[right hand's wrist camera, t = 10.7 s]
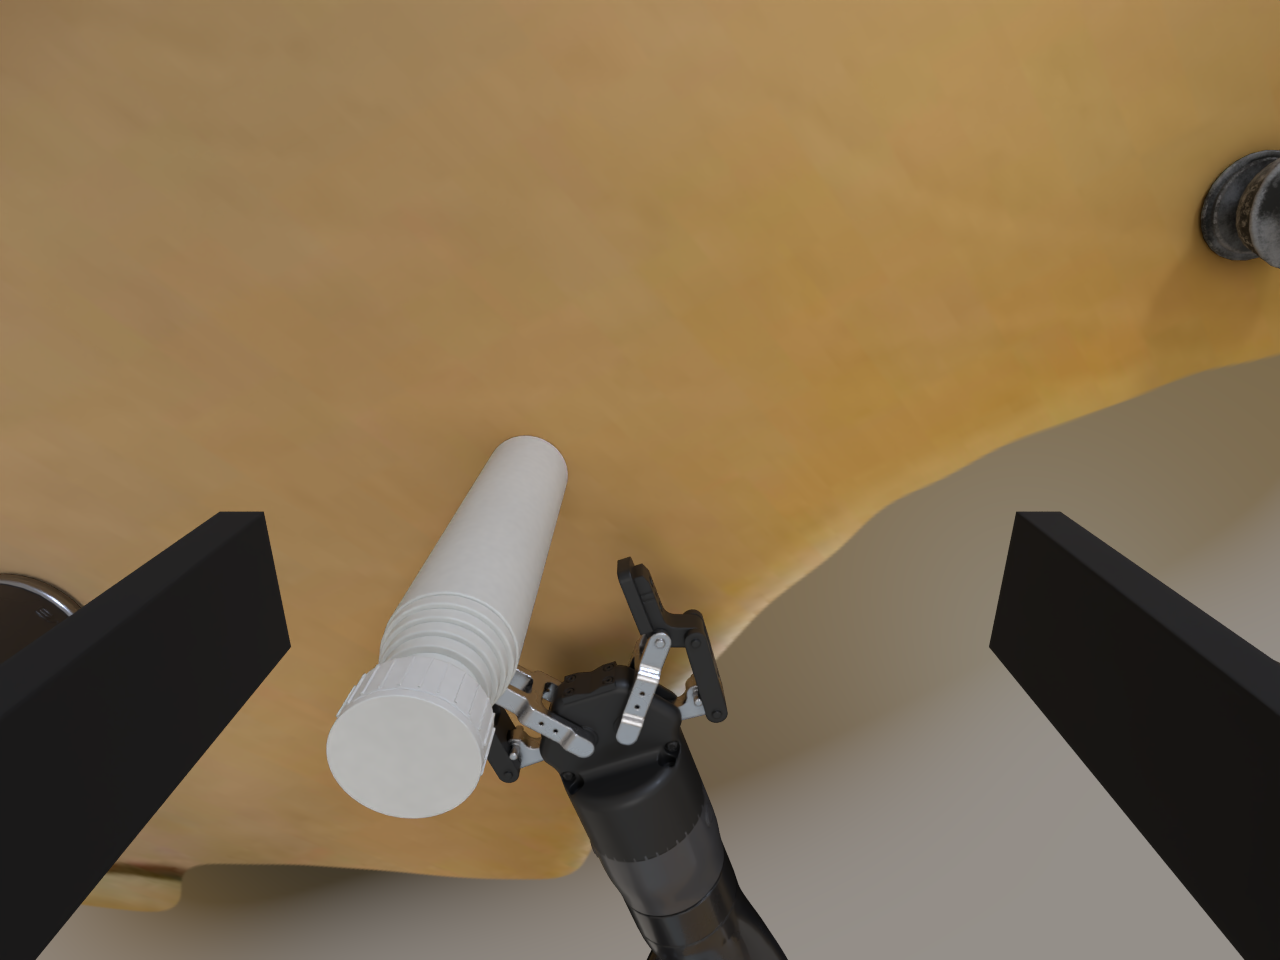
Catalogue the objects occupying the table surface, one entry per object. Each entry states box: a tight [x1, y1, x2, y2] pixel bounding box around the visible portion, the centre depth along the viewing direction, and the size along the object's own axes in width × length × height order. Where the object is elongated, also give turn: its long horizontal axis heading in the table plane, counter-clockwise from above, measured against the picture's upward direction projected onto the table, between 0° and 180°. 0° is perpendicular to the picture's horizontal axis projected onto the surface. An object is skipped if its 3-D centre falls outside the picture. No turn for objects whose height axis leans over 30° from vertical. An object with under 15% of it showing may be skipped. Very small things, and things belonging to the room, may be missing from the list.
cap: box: [326, 656, 495, 818], centre depth 20 cm, size 4×4×2 cm
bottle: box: [379, 436, 568, 706], centre depth 31 cm, size 5×5×23 cm
